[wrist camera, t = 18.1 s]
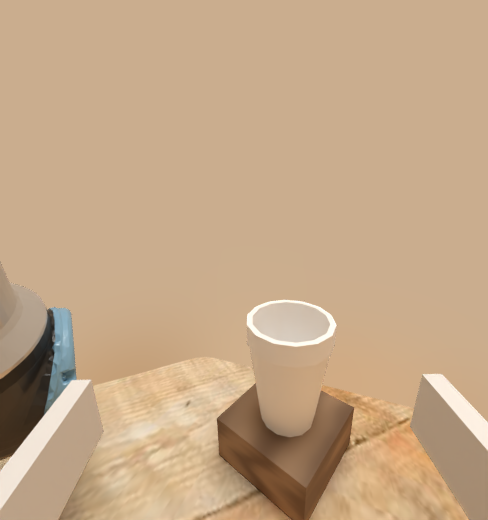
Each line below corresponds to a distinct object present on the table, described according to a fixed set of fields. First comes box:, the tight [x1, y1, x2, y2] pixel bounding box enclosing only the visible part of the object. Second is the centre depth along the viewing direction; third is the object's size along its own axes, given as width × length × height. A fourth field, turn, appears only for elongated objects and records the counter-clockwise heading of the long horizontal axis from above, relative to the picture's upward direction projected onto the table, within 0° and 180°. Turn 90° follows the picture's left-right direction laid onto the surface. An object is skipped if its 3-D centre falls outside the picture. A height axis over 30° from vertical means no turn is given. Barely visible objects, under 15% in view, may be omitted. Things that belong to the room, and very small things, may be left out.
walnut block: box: [217, 383, 354, 520], centre depth 35 cm, size 12×12×6 cm
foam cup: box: [247, 300, 336, 437], centre depth 32 cm, size 10×9×13 cm
